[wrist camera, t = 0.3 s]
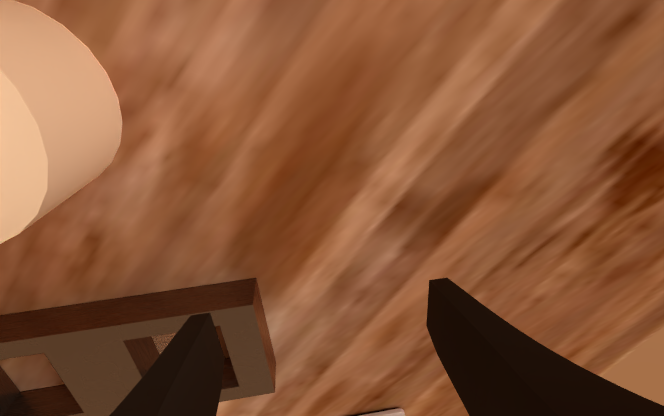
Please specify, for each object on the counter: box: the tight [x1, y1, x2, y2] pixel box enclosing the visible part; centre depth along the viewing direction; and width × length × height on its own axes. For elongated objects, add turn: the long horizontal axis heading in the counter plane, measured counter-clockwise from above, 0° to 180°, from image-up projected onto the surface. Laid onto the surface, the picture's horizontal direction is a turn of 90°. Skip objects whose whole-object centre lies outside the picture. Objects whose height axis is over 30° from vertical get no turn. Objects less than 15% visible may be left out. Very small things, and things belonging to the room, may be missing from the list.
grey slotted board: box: [0, 278, 276, 416], centre depth 22 cm, size 22×8×2 cm, turn 95°
